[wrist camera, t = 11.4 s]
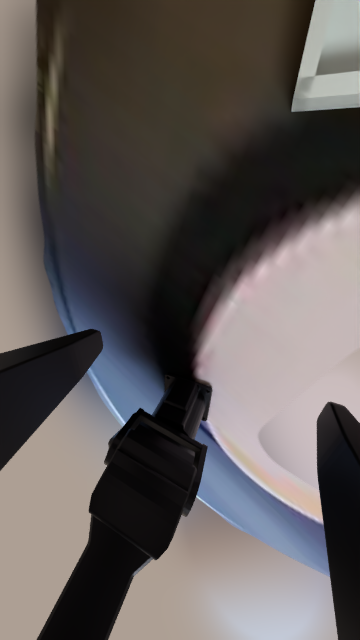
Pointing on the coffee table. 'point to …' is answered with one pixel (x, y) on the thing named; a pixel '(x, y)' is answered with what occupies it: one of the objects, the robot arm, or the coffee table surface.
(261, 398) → the coffee table surface
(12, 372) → the robot arm
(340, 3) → the tray
